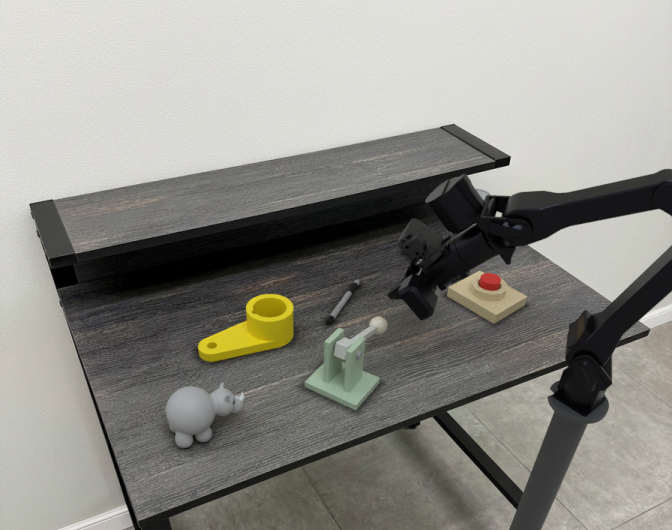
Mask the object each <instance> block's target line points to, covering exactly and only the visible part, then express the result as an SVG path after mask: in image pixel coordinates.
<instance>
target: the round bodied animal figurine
mask: <svg viewBox="0 0 672 530" xmlns="http://www.w3.org/2000/svg"><path fill="white" fill-rule="evenodd" d="M224 385H225V383H224V381H222V382H221V383H220V384H219V386H218V388H216V389H215V390H213V391H212V392H211V393H209V392H207V391H206V390H205V389H203V388H201V387H198V386H193V385H190V386H189V385H188V386H183V387H181V388H179V389H177V390H176V391H174V392H173V393H172V394H171V395H170V397H169V398H168V400H167V403H166V405H165V407H164V412H165V416H166V420H167V422H168V428H169V430H170V431H171V432H172V433H174V434H175V436H174V440H175V445H176V446H177V447H178V448H181V449H187V448H189V447H191V446H192V444H193V442H194V438H195V440H196V441H197V442H200V443H207V442H209V441H210V440H211V439H212V437H213V430H212V428H211V425H212V424H213V422H214V419H215V417H216V416H219V417H226V416H228V415H230V414H238V413H239V412H241V411H242V409H243V407H244V400H245V394H244V392H243V391H241V392H240V395H236V394H234V393H232V391H231V390H229V389H228V388H225V387H224ZM193 436H194V437H193Z"/></svg>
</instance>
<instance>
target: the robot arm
mask: <svg viewBox="0 0 672 530" xmlns="http://www.w3.org/2000/svg"><path fill="white" fill-rule="evenodd" d="M476 189H477V188H475V187H474V185H473V183H472V180H471V179H470V177H469V176H468V174H467V173H462V174H460V176H455V177H453V178H450V179H448V178H447V179H446V180H445V181H443V182H442V183H440V184H439V185H438V186H437V187H436V188H434V190H432V191H431V192H430V193H429V194H428V196H427V197H426V199H425V200H424V201H425V203H426V205H427V206H428V207H429V209H430V210H431V211H432V212H433V214H434V215H435V217H436V218H437V219H438V220H439V222H440V223H441V224H442V226H443V227H444V228H445V230H446V231H447V232H451V234H450V233H447V234H445V235H443V234H442V232H440V231H436V230H435V229H433V228H431V227H430V226H428V225H427V224H425V223H424V222H422V221H421V220H419V219H418V218H411V219H410V221H409V222H408V224H407V226H406V227H404V229H403V231H402V233H401V234H400V236H399V238H398V240H397V242H396V245H397V247H398V248H399V249H400V250H402V253H403V252H405V253H406V254H408V255H409V256H411V257H412V258H411V260H410V262H409V266H408V267H407V269H406V271H405V273H404V275H403V277H402V278H401V279H400V280H399V281H398V282H397V283H396V284H395V285H394V286H393V287H392V288H391V289H390V290H389V291H388V293H387V294H386V295H387V297H388V298H389V300H395V301H396V300H400V301H401V300H402V301H403V302H404V303H405V304H406V305H407V306H408V308H409V309H410V310H411V311H412V313H413V314H414V315H415V316H416V317H417V319H418V320H419V321H422V322H423V321H425V320H427V319H429V318H431V317H433V315H434V312H435V310H436V307H437V305H438V300H439V296H438V295H437V292H438V289H439V290H440V291H441V292H443V291H445V290H448V287H449V284H450V283H451V281H452V280H454V279H456V278H458V277H459V276H461V278H460V279H461V280H463V279H465V278H467V277H469V276H470V273H471V271H472V270H473V269H476V268H477V267H479V266H481V265H483V264H485V263H486V262H488V261H490V260H492V259H493V258H496V257H497V256H499V257H500V258H501V259H502V260H503V262H504V263H505V264H506V265H507V266H510V265H511V264H512V260H513V257H514V253H515V251H516V250H517V247H525V246H529V245H532V244H534V243H537V242H540V241H543V240H545V239H548V238H550V237H552V236H553V235H554V234H556V233H558V232H560V231H561V230H564V229H568V228H569V227H575V226H578V225H579V226H580V225H584V224H590V223H595V222H599V221H604V220H610V219H616V218H620V217H627V216H630V215H637V214H641V213H647V212H651V211H657V210H660V211H662V212H664V213H666V214H667V215H669V216H670V217H672V168H663V169H660V170H658V171H656V172H654V173H650V174H646V175H641V176H636V177H631V178H626V179H622V180H617V181H611V182H608V183H603V184H599V185H595V186H589V187H585V188H580V189H576V190H572V191H566V192H555V191H549V190H530V191H520V192H516V193H514V194H512V195H500V194H499V195H497V194H491V195H486V196H485V199H484V200H483V199H482V197H481V196H480V195H479V193H478V192H477V191H476ZM497 213H500V214H501V215H500V216H497ZM475 223H476V224H475ZM473 224H474V225H473ZM472 225H473V226H472ZM470 226H471V227H470ZM457 232H458V233H460V232H461V233H460V234H458V235H456V236H455V233H457ZM406 254H405V255H406ZM409 256H408V257H409ZM452 282H453V281H452ZM671 293H672V244H671V245H670V246H669V247H668V248H667V249H666V250H665V251H664V252H663V253H661V255H660V256H659V257H658V258H656V259H655V260H654V261H653V262H652V263H651V264H650V265H649V266H648V267H647V268H646V269H645V270H644V271H643V272H641V274H640V275H639V276H638V277H636V278H635V280H633V282H631V284H629V285H628V286H627V287H626V288H625V289H624V290H622V292H621V293H620V294H619V295H618V296H617V297H616V298H614V300H612V301H611V303H609V305H607V307H605V308H604V309H603V310H601V311H599V312H595V313H593V314H592V313H591V312H590V311H588V310H587V309H584V310H583V311H582V312H581V314H580V315H579V316H578V318H577V319H575V320H574V321H572V322H570V323H568V331H567V334H566V342H565V343H566V345H565V356H564V359H565V364H566V366H567V367H566V368H564V369H563V370H562V372H561V376H560V377H559V380H560V381H559V380H558V381H559V383H558V386H557V388H558V389H559V390H558V391H556V392H555V393H552V395H553V397H554V398H555V399H557V400H558V401H560V402H562V403H563V404H565V405H566V406H568V407H569V408H571V409H573V410H574V411H576V412H577V413H579V414H580V415H582V416H584V417H586V416H588V415H589V414H590V413H591V412H593V411H594V410H595V409H596V408H597V407H599V406H600V405H601V404H602V403H603V402H605V400H606V398H605V397H604V394H605V395H606V392H607V389H608V388H610V387H611V386H612V385H613V354H614V352H615V351H616V349H617V346H618V345H619V343H620V342H621V339H622V337H623V336H624V335H625V334H626V333H627V332H628V331H629V330H631V328H633V327H634V326H635V325H636V324H637V323H638V322H639V321H641V320H642V318H644V317H645V316H646V315H648V313H649V312H650V311H651V310H653V309H654V308H655V307H656V306H657V305H658V304H660V303H661V302H662V301H663V300H664V299H666V297H667V296H669V295H670V294H671Z"/></svg>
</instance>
